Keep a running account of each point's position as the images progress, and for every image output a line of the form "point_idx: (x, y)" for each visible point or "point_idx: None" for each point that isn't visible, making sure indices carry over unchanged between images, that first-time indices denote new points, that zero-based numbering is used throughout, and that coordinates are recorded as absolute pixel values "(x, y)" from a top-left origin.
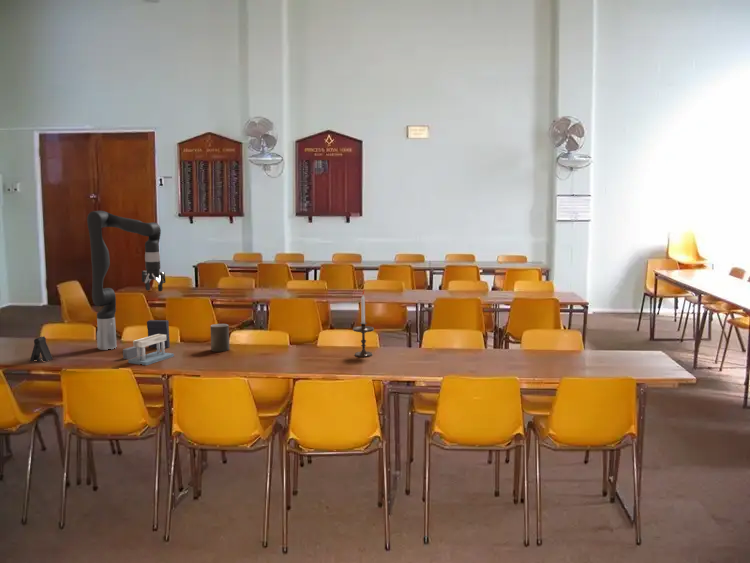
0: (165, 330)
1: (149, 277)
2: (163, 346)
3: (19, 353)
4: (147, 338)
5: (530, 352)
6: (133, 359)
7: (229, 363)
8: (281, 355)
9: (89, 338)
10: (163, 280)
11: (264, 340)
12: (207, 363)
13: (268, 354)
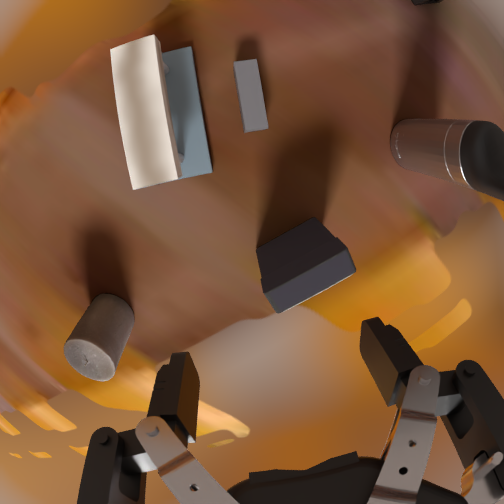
0: (266, 274)
1: (373, 475)
2: None
3: (492, 39)
4: (136, 93)
5: None
6: (180, 59)
7: (2, 235)
8: (12, 334)
9: (498, 206)
10: (135, 478)
11: (134, 405)
12: (23, 202)
13: (26, 330)
